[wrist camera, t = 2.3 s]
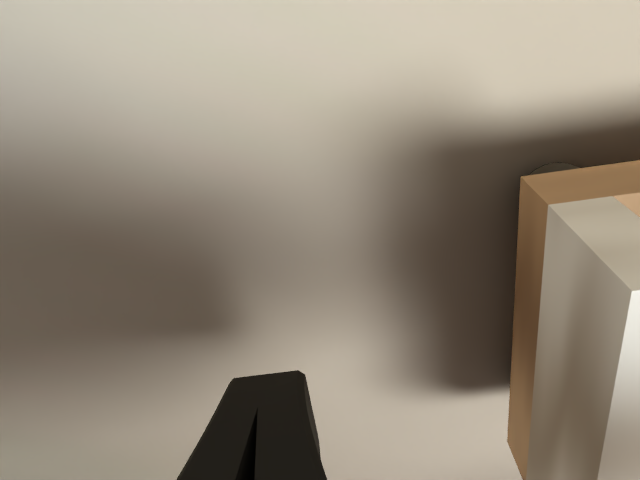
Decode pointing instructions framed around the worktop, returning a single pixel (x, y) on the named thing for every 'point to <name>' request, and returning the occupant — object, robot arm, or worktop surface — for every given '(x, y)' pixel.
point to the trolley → (577, 324)
